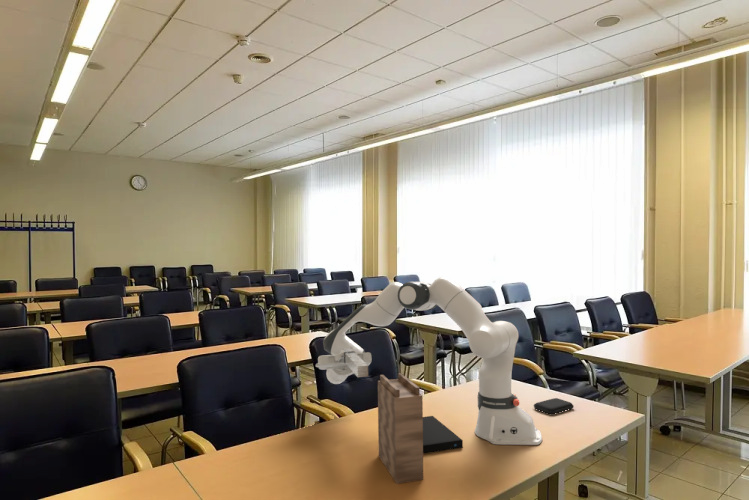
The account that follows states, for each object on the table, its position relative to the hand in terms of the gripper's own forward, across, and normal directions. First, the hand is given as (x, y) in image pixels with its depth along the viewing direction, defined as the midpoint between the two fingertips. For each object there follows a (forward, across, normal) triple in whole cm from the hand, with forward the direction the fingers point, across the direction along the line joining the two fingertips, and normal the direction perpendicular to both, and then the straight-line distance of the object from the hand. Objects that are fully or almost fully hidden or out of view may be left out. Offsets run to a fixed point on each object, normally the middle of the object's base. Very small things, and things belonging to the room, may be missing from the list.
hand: (348, 354), depth 172 cm
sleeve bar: (+6, 0, +6) cm, 9 cm away
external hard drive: (0, +25, +32) cm, 40 cm away
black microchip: (-10, +83, +26) cm, 88 cm away
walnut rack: (+16, +8, +40) cm, 44 cm away
